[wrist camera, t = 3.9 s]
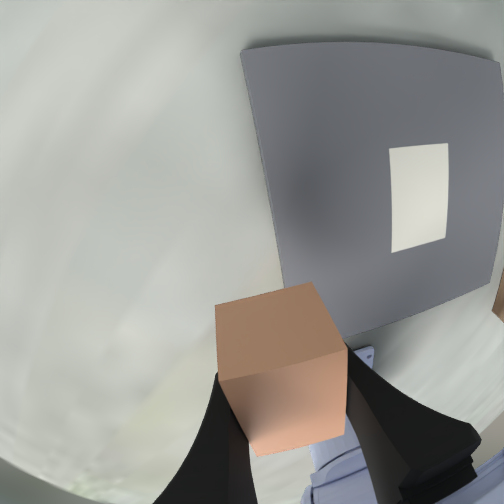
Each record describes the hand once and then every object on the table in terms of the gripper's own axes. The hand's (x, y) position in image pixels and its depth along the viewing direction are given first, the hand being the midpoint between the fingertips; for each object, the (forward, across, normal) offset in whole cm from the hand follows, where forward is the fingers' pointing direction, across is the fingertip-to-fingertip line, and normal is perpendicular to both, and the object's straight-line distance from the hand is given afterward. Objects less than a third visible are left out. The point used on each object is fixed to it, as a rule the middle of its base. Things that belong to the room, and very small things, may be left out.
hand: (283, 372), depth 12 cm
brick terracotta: (+2, 0, 0) cm, 2 cm away
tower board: (+8, -12, -3) cm, 15 cm away
